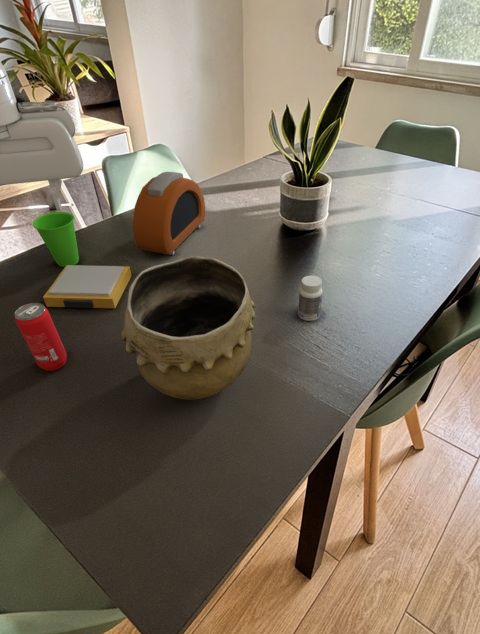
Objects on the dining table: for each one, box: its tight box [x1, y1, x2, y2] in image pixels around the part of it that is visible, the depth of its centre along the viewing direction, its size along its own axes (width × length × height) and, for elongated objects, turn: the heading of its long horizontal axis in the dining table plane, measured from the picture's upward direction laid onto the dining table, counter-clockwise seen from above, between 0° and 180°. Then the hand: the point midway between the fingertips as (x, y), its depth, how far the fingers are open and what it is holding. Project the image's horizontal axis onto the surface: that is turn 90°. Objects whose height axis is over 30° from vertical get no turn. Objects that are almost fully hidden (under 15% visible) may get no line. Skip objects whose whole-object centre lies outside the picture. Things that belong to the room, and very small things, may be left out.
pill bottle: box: [297, 275, 324, 322], centre depth 87 cm, size 5×5×8 cm
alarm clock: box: [132, 171, 206, 256], centre depth 109 cm, size 23×9×17 cm, turn 161°
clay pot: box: [120, 255, 256, 401], centre depth 69 cm, size 21×21×20 cm
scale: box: [42, 264, 133, 309], centre depth 95 cm, size 15×14×3 cm
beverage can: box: [14, 302, 68, 372], centre depth 75 cm, size 5×5×12 cm
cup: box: [32, 211, 80, 268], centre depth 102 cm, size 9×9×11 cm
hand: (21, 213), depth 61 cm, fingers open, 8 cm apart
